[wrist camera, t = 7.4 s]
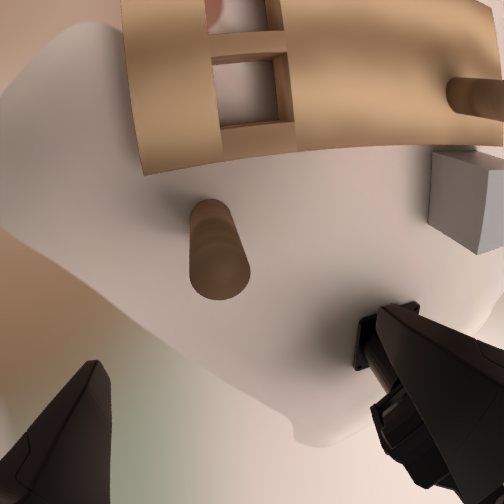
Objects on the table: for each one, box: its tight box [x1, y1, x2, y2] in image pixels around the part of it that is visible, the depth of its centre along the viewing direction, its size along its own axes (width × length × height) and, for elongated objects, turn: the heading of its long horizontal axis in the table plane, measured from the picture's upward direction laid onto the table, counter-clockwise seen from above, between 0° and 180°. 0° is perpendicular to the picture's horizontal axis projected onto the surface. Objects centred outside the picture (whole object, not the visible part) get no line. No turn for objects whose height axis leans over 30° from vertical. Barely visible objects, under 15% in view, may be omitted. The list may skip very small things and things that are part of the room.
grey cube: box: [428, 151, 504, 255], centre depth 19 cm, size 6×6×6 cm
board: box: [121, 0, 504, 176], centre depth 13 cm, size 12×26×8 cm, turn 96°
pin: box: [189, 200, 250, 300], centre depth 16 cm, size 3×3×7 cm
